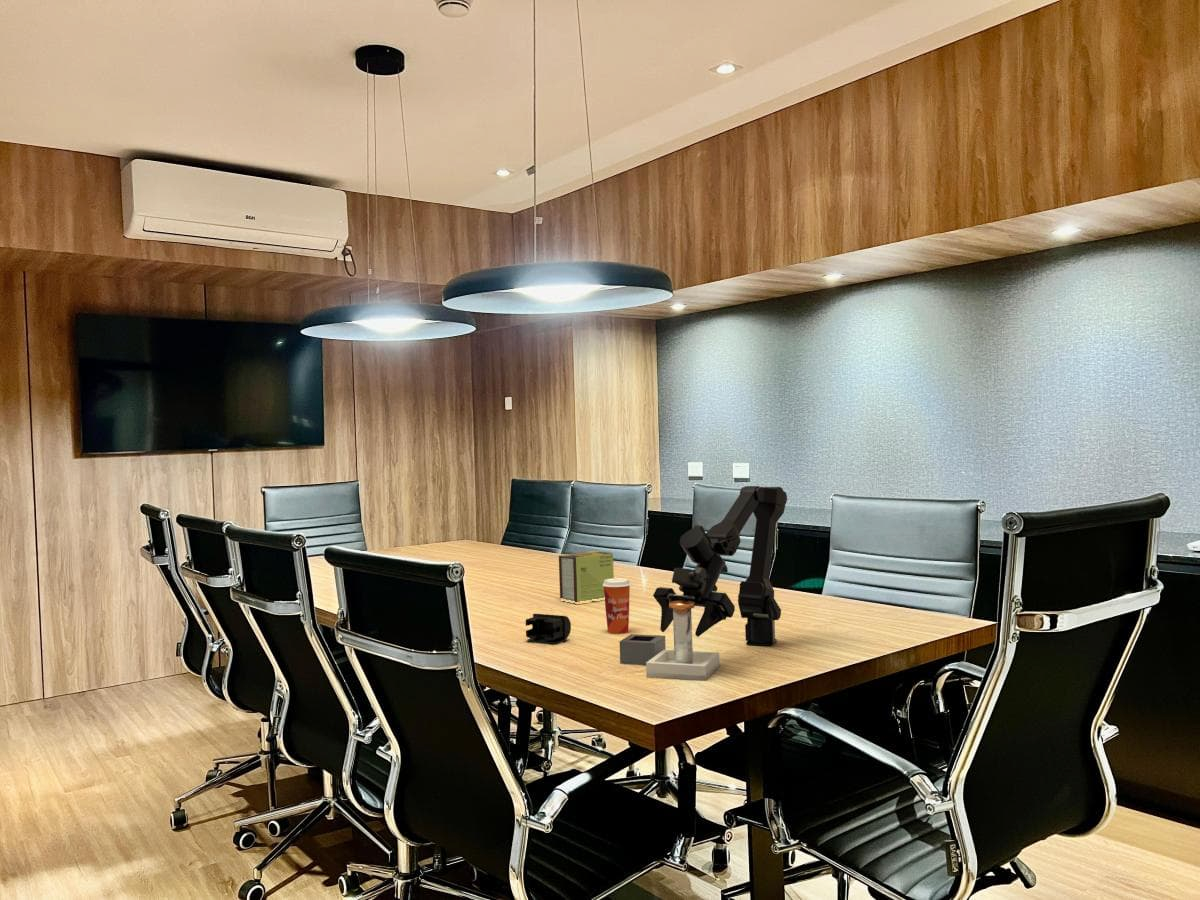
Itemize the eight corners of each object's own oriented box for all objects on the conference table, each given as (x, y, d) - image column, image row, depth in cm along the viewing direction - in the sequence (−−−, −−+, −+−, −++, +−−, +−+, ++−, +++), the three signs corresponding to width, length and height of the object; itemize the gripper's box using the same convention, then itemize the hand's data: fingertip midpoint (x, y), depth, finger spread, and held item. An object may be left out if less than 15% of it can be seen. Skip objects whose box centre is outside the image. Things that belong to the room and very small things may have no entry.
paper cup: (608, 635, 235) (607, 582, 235) (600, 630, 242) (598, 579, 242) (636, 633, 237) (634, 580, 237) (627, 627, 244) (626, 577, 244)
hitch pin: (694, 663, 197) (692, 600, 197) (698, 668, 191) (696, 604, 191) (669, 664, 196) (667, 601, 196) (673, 670, 191) (670, 605, 191)
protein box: (615, 599, 294) (613, 552, 294) (577, 605, 285) (575, 557, 285) (596, 596, 302) (595, 550, 302) (559, 601, 293) (557, 554, 293)
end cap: (571, 640, 231) (571, 614, 231) (556, 645, 225) (555, 618, 225) (540, 637, 236) (539, 611, 236) (524, 642, 230) (523, 616, 230)
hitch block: (665, 657, 208) (665, 635, 208) (655, 665, 200) (654, 643, 200) (632, 655, 211) (631, 634, 211) (620, 663, 203) (619, 641, 203)
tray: (719, 666, 197) (719, 652, 197) (705, 680, 185) (705, 666, 185) (664, 662, 202) (663, 649, 202) (646, 676, 190) (646, 662, 190)
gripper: (656, 551, 203) (628, 607, 194) (726, 555, 191) (699, 615, 182) (677, 581, 209) (650, 636, 200) (746, 587, 197) (721, 646, 188)
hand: (678, 633), depth 193 cm, fingers open, 9 cm apart
